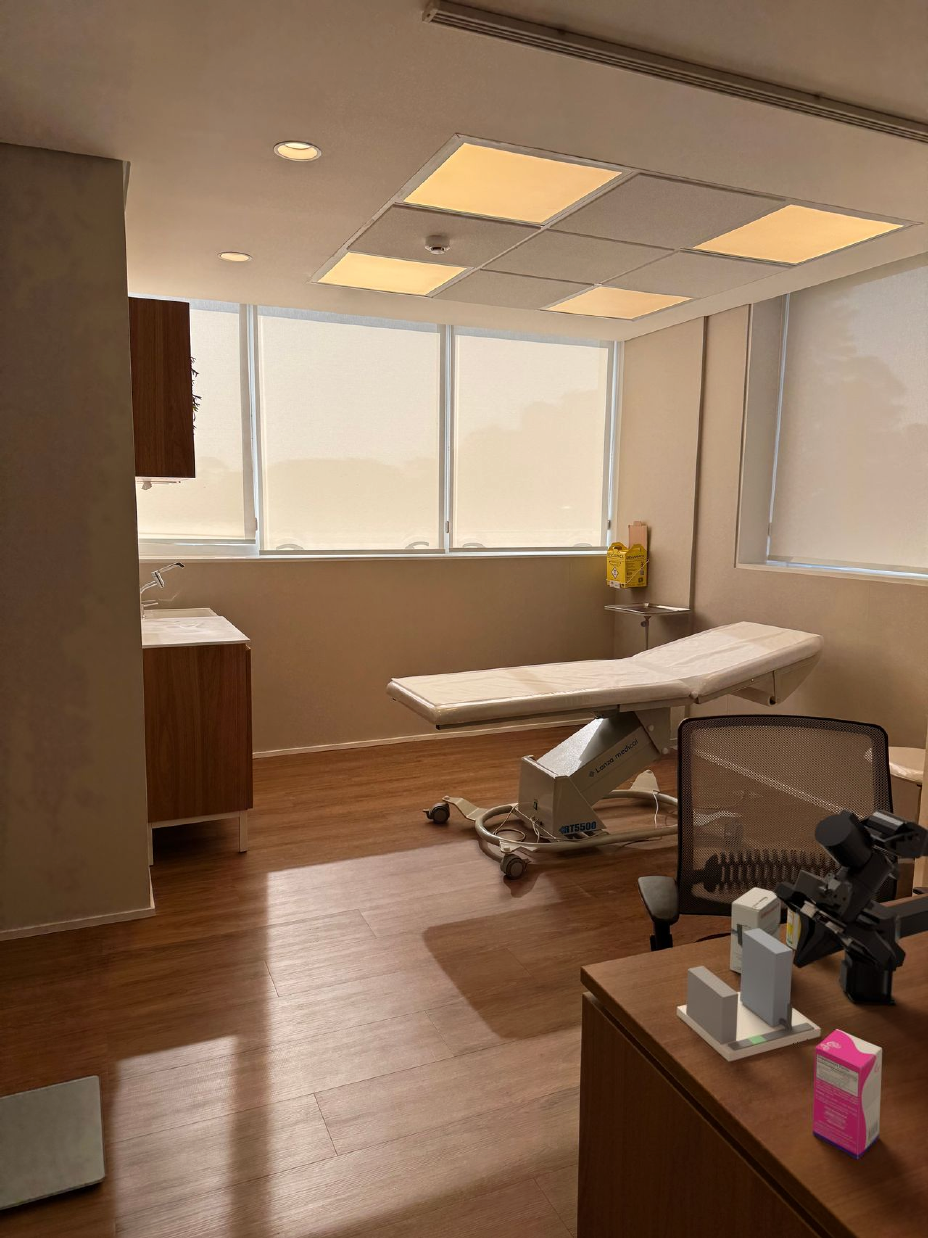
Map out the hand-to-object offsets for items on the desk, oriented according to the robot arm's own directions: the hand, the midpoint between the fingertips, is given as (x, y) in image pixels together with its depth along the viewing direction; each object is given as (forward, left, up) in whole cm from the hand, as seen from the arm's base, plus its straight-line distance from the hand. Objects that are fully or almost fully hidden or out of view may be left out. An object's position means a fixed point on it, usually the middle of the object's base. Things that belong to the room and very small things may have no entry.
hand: (795, 966), depth 129 cm
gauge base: (+8, +4, -7) cm, 11 cm away
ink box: (+2, -14, -8) cm, 16 cm away
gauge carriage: (+5, +3, -6) cm, 8 cm away
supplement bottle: (-8, -21, -8) cm, 24 cm away
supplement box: (+2, +26, -8) cm, 27 cm away
